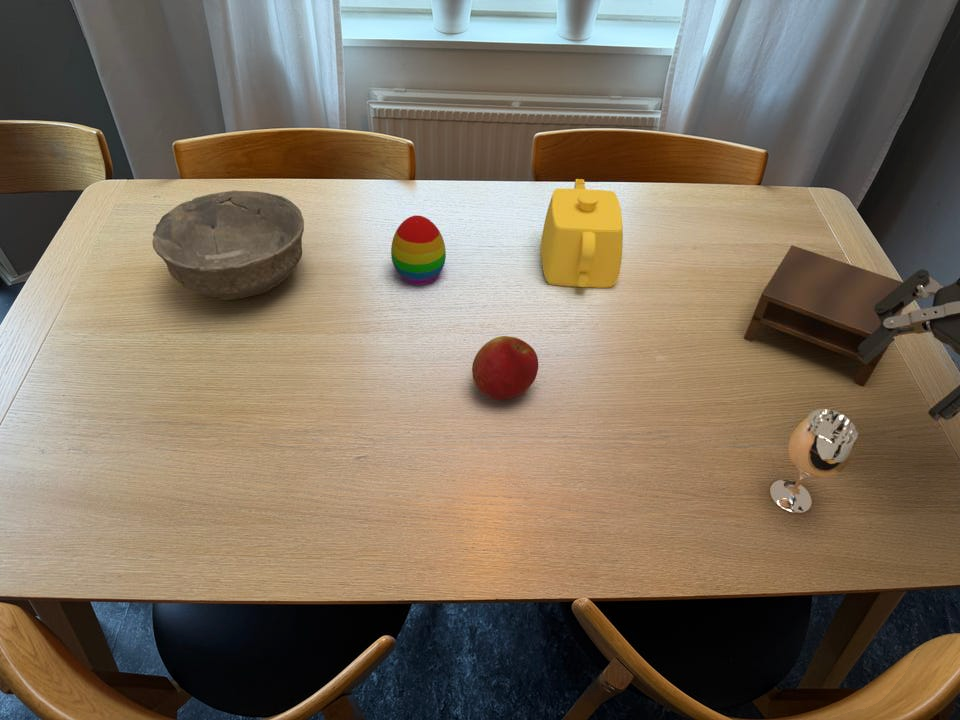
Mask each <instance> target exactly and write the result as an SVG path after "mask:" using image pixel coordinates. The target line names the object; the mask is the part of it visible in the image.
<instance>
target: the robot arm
mask: <svg viewBox="0 0 960 720" xmlns="http://www.w3.org/2000/svg"><path fill="white" fill-rule="evenodd" d="M902 282H903V283H902V284H901V285H900V286H898V287H897V288H896V289H895V290H893V291H892V292H891V293H890V294H888V295H887V296H886V297H885V298H883V299H882V300H881V301H880V302H878V303H877V304H876V305H875V307H874V310H875V312H876V314H877V316H878V317H879V319H880V321H881V325H880V327H879V328H878V329H876V330H875V331H874V332H873V333H872V334H871V335H870V336H869V337H868V338H866V339H865V340H864V341H863V342H862V343H861V344H860V345H859V347H858V350H859V351H860V352H859V353H858V354H857V357H858V358H859V360H861V361H862V362H861V361H860V362H861V363H863V365H864V364H867V363H869V362H870V361H871V360H872V359H874V358H875V357H876V356H877V355H878V354H879V353H880V352H882V351H883V350H884V349H885V348H886V347H887V346H888V345H889V346H890V345H891V344H892V343H893V342H894V341H895V337H898V336H899V337H900V336H903V335H904V336H905V335H910V334H926V333H931V334H932V335H933V337H934V338H935V339H936V340H937V341H939V342H940V343H941V344H946V345H947V346H950V348H951V349H952V350H953V351H954V353H956V354H957V355H958V356H960V277H959V278H958V279H957V280H955V281H954V282H953V283H950V284H948V285H945V286H943V285H941V284H940V283H939V282H937V281H936V280H935V279H933V278H932V277H931V276H930V272H929V271H928V269H927V270H926V269H923V268H922V269H919V270H917V271H916V272H914V273H913V274H912V275H911V276H909V277H908V278H907V279H906V280H904V281H902ZM929 296H933V300H932V301H933V302H932V306H931V307H926V308H921V309H916V310H915V309H914V310H911V311H909V312H908V313H905V314H901V315H899V316H895V315H896V314H897V313H899V312H900V311H901V310H902V311H903V310H904V309H905V308H907V307H908V306H909V305H910V304H911V303H913V302H914V301H915V300H917V299H919V300H920V299H925V298H928V297H929ZM889 346H888V347H889ZM959 413H960V384H958V385H957V386H956V387H955V388H954V389H953V390H952V391H950V392H949V393H947V395H945V396H944V397H943V398H942V399H941V400H940V401H938V402H937V403H935V405H934V406H932V407H930V409H928V412H927V414H928V415H929V417H930V418H932V419H933V420H934V421H935V422H938V421H940V420H941V419H943V420H945V421H949V420H951V419H953V418H955V417H956V416H957V415H958V414H959Z"/></svg>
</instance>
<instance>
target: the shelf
mask: <svg viewBox="0 0 960 720" xmlns="http://www.w3.org/2000/svg"><path fill="white" fill-rule="evenodd" d="M903 282H904V281H901V280H898V279H895V278H893V277H889V276H886V275H882V274H881V273H877V272H874V271H870V270H868V269H866V268H862V267H859V266H856V265H853V264H850V263H847V262H844V261H841V260H838V259H834V258H831V257H829V256H826V255H823V254H820V253H817V252H814V251H811V250H808V249H805V248H802V247H798V246H796V245H793V244H791V246H790V247H789V249H788V251H786V254H785V255H784V256H783V259H781V262H780V263H779V265H778V266H777V268H776V270H775V272H774V273H773V275H772V276H771V278H770V280H769V281H768V283H767V284H766V286H765V287H764V289H763V291H762V293H761V295H760V297H759V300H758V302H757V305H756V307H755V309H754V312H753V314H752V317H751V319H750V322H749V325H748V327H747V329H746V332H745V334H744V336H743V339H745V340H747V341H749V342H753V341H754V340H755V337H757V336H756V335H757V333H758V330H759V329H760V326H761V324H762V325H765V326H768V327H771V328H773V329H776V330H778V331H780V332H783V333H786V334H788V335H791V336H793V337H795V338H799V339H801V340H804V341H807V342H810V343H812V344H814V345H816V346H819V347H822V348H825V349H827V350H830V351H832V352H835V353H838V354H841V355H843V356H846V357H848V358H851V359H853V360H856V361H859V362H861V363H863V362H862V361H861V360H859V358H858V357H857V354H858V353H859V352H860V351H859V350H858V347H859V345H860V344H861V343H862V342H863V341H864V340H865V339H866V338H868V337H869V336H870V335H871V334H872V333H873V332H874V331H875V330H876V329H878V328H879V327H880V325H881V321H880V319H879V317H878V316H877V314H876V312H875V310H874V307H875V305H876V304H877V303H878V302H880V301H881V300H882V299H883V298H885V297H886V296H887V295H888V294H890V293H891V292H892V291H893V290H895V289H896V288H897V287H898V286H900V285H901V284H902V283H903ZM902 312H903V310H901V311H900V312H899V313H897V314H896V315H895V316H899V315H902ZM889 346H890V345H888V346H887V347H886V348H885V349H884V350H883V351H882V352H880V353H879V354H878V355H877V356H876V357H875V358H874V359H872V360H871V361H870V362H869V363H867V364H864V363H863V365H862V367H861V369H860V371H859V372H858V374H857V375H856V377H855V379H854V383H855V384H857V385H858V386H859V385H860V386H862V387H865V386H866V384H867V382H868V380H869V379H870V377H871V376H872V374H873V372H874V370H875V369H876V367H877V366H878V365H879V362H880V361H881V360H882V358H883V356H884V354H885V353H886V352H887V350H888V348H889Z"/></svg>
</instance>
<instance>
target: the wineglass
mask: <svg viewBox="0 0 960 720" xmlns="http://www.w3.org/2000/svg"><path fill="white" fill-rule="evenodd" d="M858 436H859V432H858V428H857V426H856V425H855V424H854V422H853V421H852V420H851V419H850V418H849V417H848V416H846V415H844V414H842V413H841V412H839V411H836V410H833V409H826V408H821V409H820V408H819V409H815V410H813V411H812V412H811V413H809V414H808V415H807V416H806V417H805V418H804V419H803V420H801V422H799V424H798V425H797V426H795V428H794V430H793V432H792V433H791V435H790V437H789V440H788V443H787V455H788V456H789V459H790V462H791V463H792V464H793V465H794V467H795V468H797V470H799V474H798V478H797V480H796V481H795V480H791V479H787V478H786V479H785V478H784V479H783V478H782V479H778V480H775V481H774V482H773V483H772V484H771V485H770V487H769V494H770V497H771V499H772V501H773V503H774V504H776V505H777V506H778V507H779V508H780V509H782V510H784V511H786V512H788V513H792V514H804V513H806V512H807V511H809V510H810V509H811V507H812V504H813V499H812V496H811V494H810V492H809V491H808V489H807V488H805V487H804V485H802V483H803V482H804V480H806V478H808V477H809V476H810V477H813V478H818V479H826V478H831V477H834V476H837V475H838V474H839V473H842V471H843V470H844V469H845V468H846V467H847V466H848V465H849V463H850V462H851V459H852V457H853V455H854V452H855V449H856V446H857V445H856V444H857V442H858Z"/></svg>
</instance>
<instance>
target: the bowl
mask: <svg viewBox="0 0 960 720" xmlns="http://www.w3.org/2000/svg"><path fill="white" fill-rule="evenodd" d="M304 231H305V219H304V217H303V213H302V211H301V209H300V208H299V206H297V205H296V204H294V203H293V201H291V200H290V199H289V198H287V197H285V196H283V195H279V194H273V193H270V192H265V191H255V190H227V191H222V192H215V193H210V194H205V195H202V196H199V197H198V196H197V197H194V198H193V199H191V200H187V201H184V202H182V203H180V204H177V206H175V207H173V208H172V209H170V210H169V211H167V213H165V214H164V215H162V217H161V218H160V220H159V222H158V223H157V224H156V226H155V229H154V231H153V233H152V236H153V238H152V241H151V243H152V248H153V250H154V252H155V253H156V254H157V255H158V256H159V257H160V258H161V259H162V261H164V263H165V264H166V266H167V270H168V272H169V274H170V276H171V277H172V278H173V279H174V280H175V281H176V282H177V283H179V284H180V285H181V286H183V287H185V288H187V289H189V290H190V291H192V292H195V293H197V294H201V295H204V296H206V297H211V298H217V299H221V300H238V299H239V300H240V299H244V298H249V297H252V296H255V295H260V294H263V293H265V292H268V291H269V290H271V289H272V288H274V287H276V286H279V285H280V284H281V283H283V281H284V280H286V279H287V278H288V277H289V275H291V274H292V272H293V271H294V269H296V267H298V265H299V263H300V261H301V259H302V258H303V257H302V256H303V241H302V240H303V234H304Z"/></svg>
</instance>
